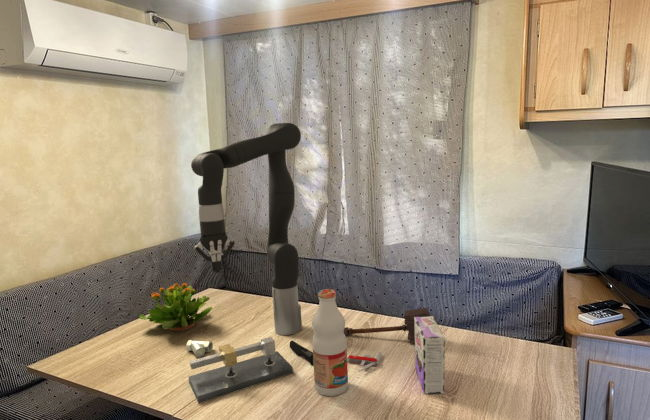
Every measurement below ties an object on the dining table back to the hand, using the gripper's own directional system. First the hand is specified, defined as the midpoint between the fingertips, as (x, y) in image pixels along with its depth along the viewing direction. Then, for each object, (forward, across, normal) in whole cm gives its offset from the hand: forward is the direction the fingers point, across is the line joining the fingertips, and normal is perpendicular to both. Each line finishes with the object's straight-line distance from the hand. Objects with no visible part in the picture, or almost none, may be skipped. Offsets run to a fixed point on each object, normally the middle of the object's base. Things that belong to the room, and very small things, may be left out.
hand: (216, 272), depth 137 cm
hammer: (+29, -52, +18) cm, 62 cm away
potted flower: (+29, +6, -35) cm, 46 cm away
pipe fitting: (+30, +7, -9) cm, 31 cm away
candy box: (+29, -46, +46) cm, 71 cm away
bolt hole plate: (+29, -1, +15) cm, 33 cm away
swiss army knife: (+29, -35, +27) cm, 53 cm away
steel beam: (+27, 0, +14) cm, 30 cm away
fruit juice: (+29, -21, +34) cm, 49 cm away
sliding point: (+27, +2, +13) cm, 30 cm away
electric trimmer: (+30, -22, +14) cm, 39 cm away
